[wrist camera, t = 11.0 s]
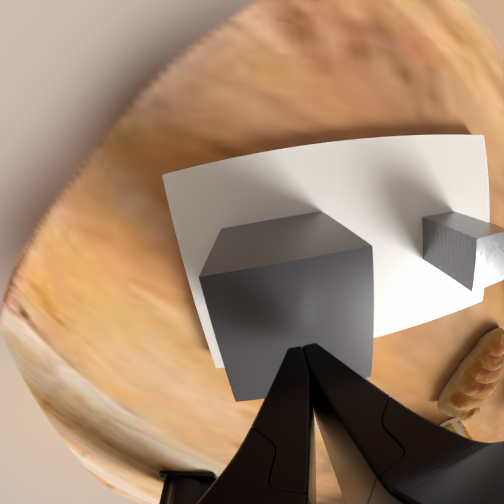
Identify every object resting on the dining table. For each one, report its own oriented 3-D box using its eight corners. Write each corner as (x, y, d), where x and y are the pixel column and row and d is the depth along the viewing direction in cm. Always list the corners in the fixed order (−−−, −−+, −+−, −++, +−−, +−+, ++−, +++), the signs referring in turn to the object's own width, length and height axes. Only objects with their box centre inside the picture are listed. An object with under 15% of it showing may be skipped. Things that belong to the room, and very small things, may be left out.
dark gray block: (241, 317, 16) (236, 401, 10) (220, 228, 15) (198, 277, 8) (331, 301, 16) (370, 376, 10) (321, 211, 14) (372, 245, 8)
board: (217, 357, 18) (216, 368, 17) (168, 174, 15) (161, 174, 14) (473, 294, 17) (482, 300, 16) (472, 135, 14) (483, 135, 13)
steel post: (422, 258, 15) (472, 292, 10) (422, 216, 14) (476, 238, 10) (453, 251, 15) (504, 279, 10) (453, 211, 14) (508, 229, 9)
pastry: (474, 323, 18) (499, 345, 15) (509, 324, 19) (531, 342, 15) (429, 404, 21) (445, 430, 17) (469, 397, 21) (485, 418, 18)
